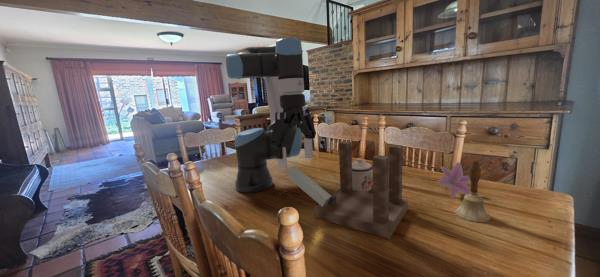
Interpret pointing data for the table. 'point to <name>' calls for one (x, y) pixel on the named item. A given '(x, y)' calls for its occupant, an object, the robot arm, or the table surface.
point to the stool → (368, 195)
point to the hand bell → (473, 199)
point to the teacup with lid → (361, 175)
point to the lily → (455, 180)
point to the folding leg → (308, 186)
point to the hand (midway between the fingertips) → (296, 163)
